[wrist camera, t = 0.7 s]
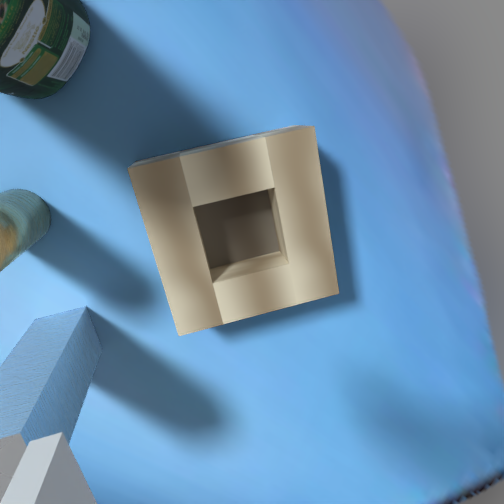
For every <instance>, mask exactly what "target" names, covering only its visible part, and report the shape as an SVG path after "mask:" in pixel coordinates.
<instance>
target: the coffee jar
mask: <svg viewBox="0 0 504 504" xmlns="http://www.w3.org/2000/svg"><path fill="white" fill-rule="evenodd" d="M89 38H90V23H89V19H88V16H87V13H86V11H85V8H84V7H83V5H82V3H81V2H80V0H0V92H1V93H5V94H9V95H14V96H19V97H24V98H31V99H39V98H45V97H48V96H50V95H52V94H54V93H56V92H57V91H58V90H59V89H61V88H62V87H63V86H64V85H65V83H66V82H67V81H68V80H69V79H70V77H71V76H72V75H73V73H74V72H75V71H76V69H77V67H78V66H79V64H80V62H81V60H82V58H83V56H84V54H85V51H86V49H87V46H88V43H89Z"/></svg>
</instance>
